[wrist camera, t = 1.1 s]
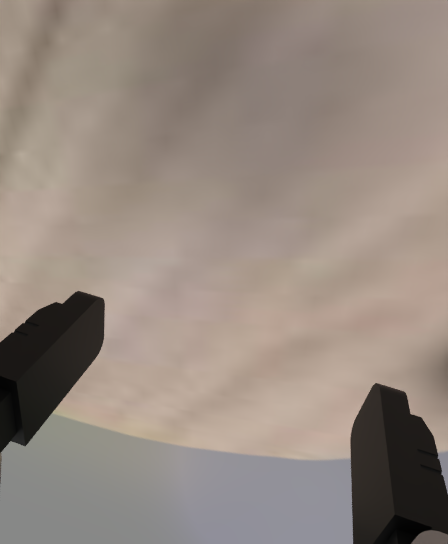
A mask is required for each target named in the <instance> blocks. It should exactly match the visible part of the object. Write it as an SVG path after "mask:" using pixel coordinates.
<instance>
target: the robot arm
mask: <svg viewBox="0 0 448 544" xmlns="http://www.w3.org/2000/svg"><path fill="white" fill-rule="evenodd" d="M104 310H105V303H104V299H103V298H100V297H97V296H94V295H91V294H87V293H84V292H81V291H77V292H75V293H74V294H73V295H72V296H71V297H70V298H68V299H67V300H66V301H65V302H64V303H63V304H61V303H57V302H55V303H53V304H50V305H48V306H46V307H44V308H41V309H39V310H38V311H36V312H35V313H34V314H33V315H32V316H31V317H29V318H28V319H27V320H26V321H25V323H22V324H21V325H20V326H19V327H18V328H17V329H15V331H14V333H11V334H10V335H8V336H7V337H6V338H5V339H4V340H3V341H1V342H0V482H1V459H2V456H1V452H2V450H3V449H4V448H5V447H6V446H7V445H8V443H9V442H10V441H12V442H16V443H18V444H21V445H23V446H26V445H27V444H28V442H29V441H30V440H31V439H32V437H33V436H34V435H35V434H36V432H37V431H38V430H39V429H40V427H41V426H42V425H43V423H44V422H45V421H46V420H47V419H48V417H49V416H50V415H51V414H52V412H53V411H54V410H55V409H56V407H57V406H58V405H59V403H60V402H61V401H62V400H63V398H64V397H65V396H66V395H67V393H68V392H69V391H70V390H71V388H72V387H73V386H74V385H75V383H76V382H77V381H78V380H79V378H80V377H81V376H82V375H83V373H84V372H85V371H86V370H87V368H88V367H89V366H90V365H91V363H92V362H93V361H94V360H95V358H96V357H97V355H98V354H99V352H100V350H101V347H102V344H103V340H104ZM441 472H442V470H441V465H440V461H439V459H438V453H437V449H436V445H435V440H434V436H433V435H432V433H431V432H430V430H429V429H428V427H427V425H426V424H425V422H424V421H423V419H422V418H421V417H418V416H415V415H412V414H410V409H409V404H408V399H407V395H406V393H405V392H404V391H400V390H397V389H394V388H391V387H387V386H384V385H381V384H378V383H376V384H374V385H373V387H372V388H371V390H370V392H369V394H368V396H367V398H366V400H365V402H364V403H363V405H362V407H361V409H360V411H359V413H358V415H357V417H356V419H355V421H354V424H353V427H352V432H351V477H352V513H353V544H448V494H447V490H446V486H445V481H444V477H443V475H441Z"/></svg>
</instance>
